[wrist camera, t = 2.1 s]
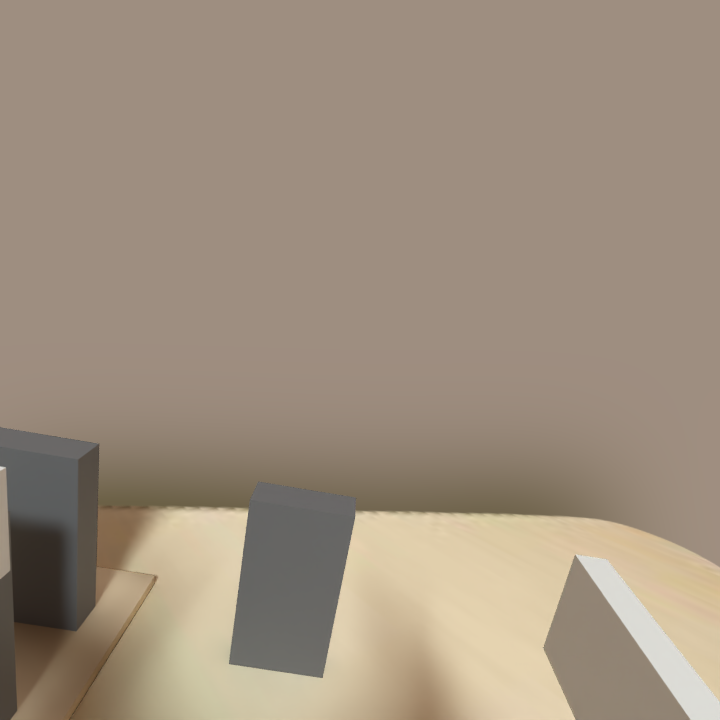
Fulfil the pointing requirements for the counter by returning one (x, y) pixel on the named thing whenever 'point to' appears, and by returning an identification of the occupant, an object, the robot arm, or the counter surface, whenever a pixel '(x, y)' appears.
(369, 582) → the counter surface
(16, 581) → the domino
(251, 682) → the counter surface
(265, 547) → the domino
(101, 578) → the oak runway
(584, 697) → the robot arm
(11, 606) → the domino
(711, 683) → the counter surface
